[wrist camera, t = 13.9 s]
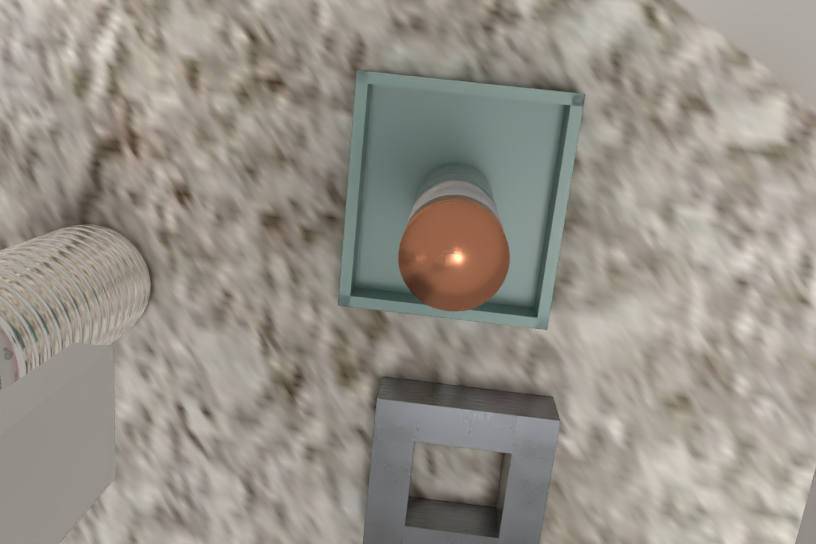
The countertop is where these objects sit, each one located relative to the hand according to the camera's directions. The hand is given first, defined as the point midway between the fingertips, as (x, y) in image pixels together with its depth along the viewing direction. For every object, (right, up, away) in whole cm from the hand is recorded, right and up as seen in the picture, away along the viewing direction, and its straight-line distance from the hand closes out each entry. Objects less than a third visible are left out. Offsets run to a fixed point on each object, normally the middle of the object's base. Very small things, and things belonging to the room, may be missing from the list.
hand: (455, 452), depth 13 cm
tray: (+2, +7, +26) cm, 27 cm away
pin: (+2, +7, +25) cm, 26 cm away
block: (+2, -8, +30) cm, 31 cm away
